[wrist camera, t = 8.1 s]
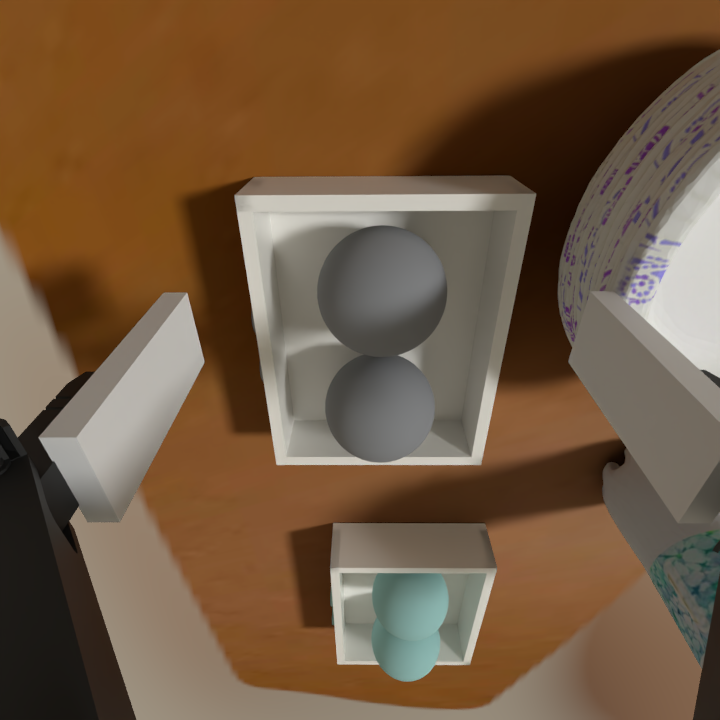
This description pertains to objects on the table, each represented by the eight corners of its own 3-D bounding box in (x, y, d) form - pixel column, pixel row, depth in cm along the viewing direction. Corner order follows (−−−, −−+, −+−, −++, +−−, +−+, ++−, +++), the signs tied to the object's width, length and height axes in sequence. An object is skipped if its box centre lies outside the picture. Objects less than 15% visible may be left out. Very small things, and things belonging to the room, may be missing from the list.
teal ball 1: (371, 538, 32) (373, 615, 28) (445, 538, 32) (459, 615, 28) (371, 580, 35) (372, 655, 31) (438, 580, 35) (450, 656, 31)
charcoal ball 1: (319, 210, 20) (305, 250, 15) (442, 210, 19) (466, 250, 15) (325, 320, 22) (315, 382, 18) (432, 320, 22) (450, 382, 18)
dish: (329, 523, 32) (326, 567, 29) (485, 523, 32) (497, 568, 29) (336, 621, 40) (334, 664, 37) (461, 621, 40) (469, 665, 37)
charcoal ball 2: (326, 332, 23) (316, 397, 18) (431, 332, 23) (449, 397, 18) (331, 413, 26) (323, 486, 21) (424, 413, 26) (437, 486, 21)
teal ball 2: (371, 586, 36) (372, 661, 31) (437, 586, 36) (448, 662, 31) (370, 620, 39) (371, 693, 34) (432, 620, 39) (441, 694, 34)
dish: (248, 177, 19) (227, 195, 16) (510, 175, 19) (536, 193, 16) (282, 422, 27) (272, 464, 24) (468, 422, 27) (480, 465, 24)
